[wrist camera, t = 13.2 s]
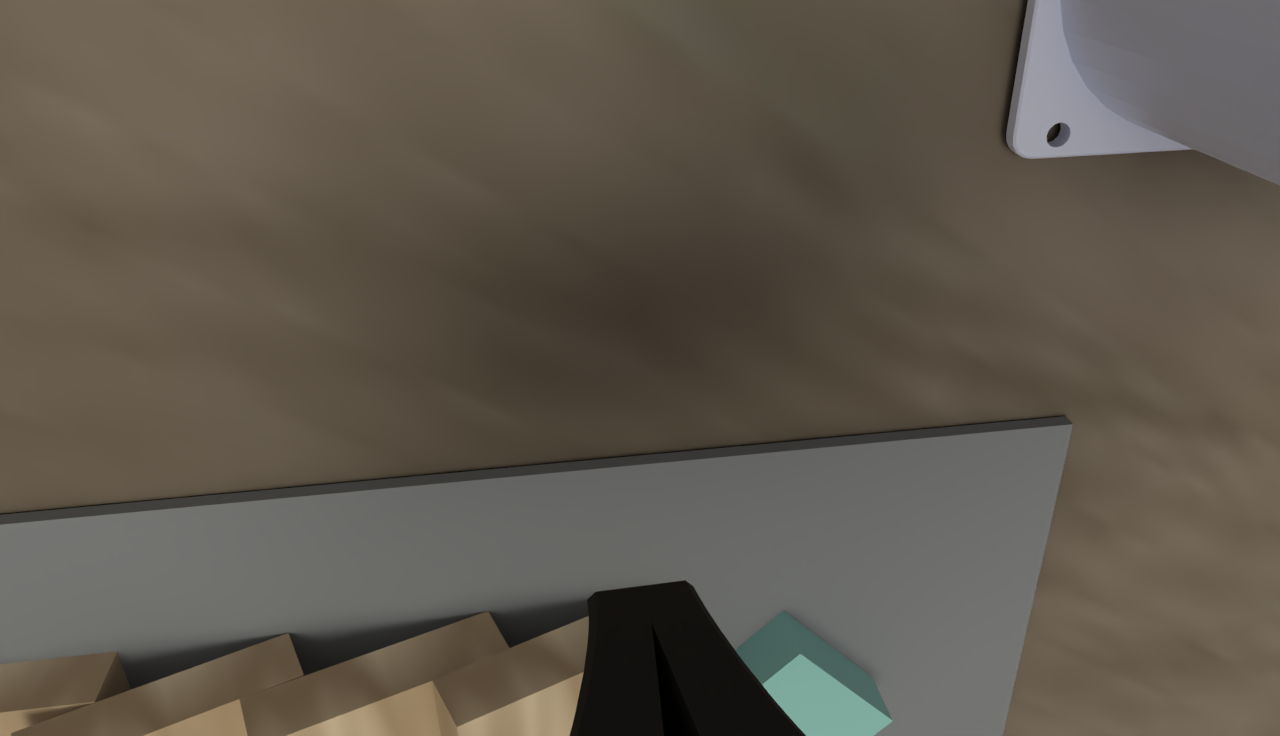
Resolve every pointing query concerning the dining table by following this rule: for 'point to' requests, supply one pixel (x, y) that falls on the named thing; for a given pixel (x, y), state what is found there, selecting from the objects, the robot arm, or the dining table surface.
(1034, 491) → the board and tray
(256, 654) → the tile
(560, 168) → the dining table surface
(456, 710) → the tile
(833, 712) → the tile
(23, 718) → the tile
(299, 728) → the tan wooden block
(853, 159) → the dining table surface
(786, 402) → the dining table surface
